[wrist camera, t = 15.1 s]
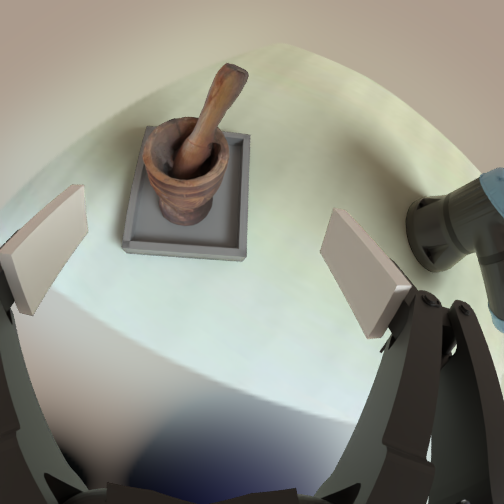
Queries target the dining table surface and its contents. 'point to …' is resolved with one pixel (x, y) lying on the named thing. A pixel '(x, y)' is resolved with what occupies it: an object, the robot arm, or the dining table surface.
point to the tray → (205, 232)
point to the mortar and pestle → (193, 153)
